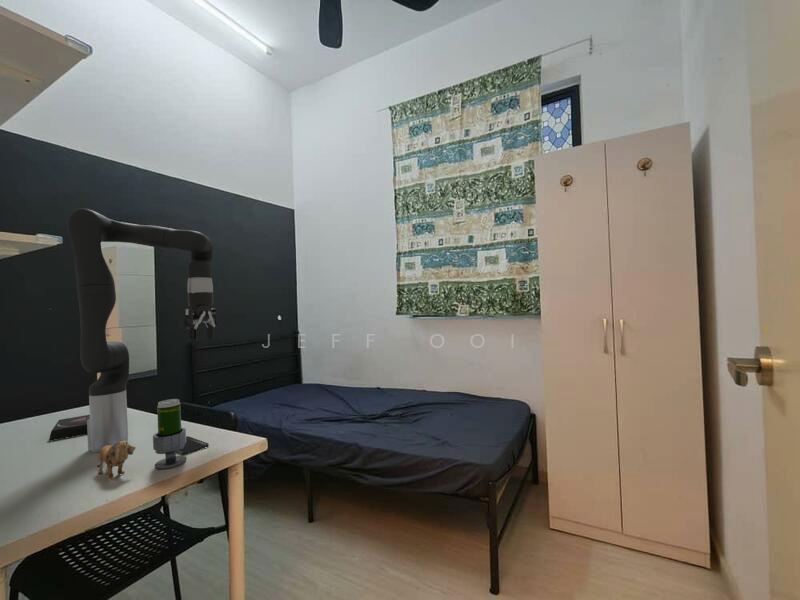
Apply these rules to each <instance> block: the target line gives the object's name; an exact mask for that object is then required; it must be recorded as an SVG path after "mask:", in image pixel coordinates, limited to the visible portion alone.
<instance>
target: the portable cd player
mask: <svg viewBox="0 0 800 600" xmlns="http://www.w3.org/2000/svg"><path fill="white" fill-rule="evenodd" d="M88 419H90V414H85V415H80V416H73V417H68V418H61V419H59V420H58V421H57V422H56V424H55V425H54V426H53V427H52V429H51V431H50V436H49V437H48V438H49V439H48V440H49V441H50V440H54V439H59V440H61V439H60V438H64V439H67V438H66V437H69V438H73V437H72V436H75V437H78V436H77V435H80V436H84V435H83V434H85V435H88V432H87V420H88ZM54 441H55V440H54Z"/></svg>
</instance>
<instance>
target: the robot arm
mask: <svg viewBox="0 0 800 600" xmlns="http://www.w3.org/2000/svg"><path fill="white" fill-rule="evenodd" d="M66 225H67V229H68V234H69V239H70V243H71V247H72V251H73V258H74V268H75V279H76V291H77V300H78V307H79V317H80V318H79V319H80V321H79V322H80V340H79V341H80V346H79V347H80V349H79V356H80V357H79V359H80V363H81V366H82V367H83V369H84V370H85V371H86V372H87V373H89V374H100V375H99V377H98V378H97V380H95V382H93V383H92V384H91V385H90V386H88V399H89V400H88V401H89V405H88V406H89V415H90V419H88V420H87V432H88V434H87V450H88V451H91V452H92V453H100V451H101V449H102V448H103V447H105V446H106V445H111V446H113V445H114V444H116V443H119V442H120V441H127V444H128V443H129V429H128V428H129V426H128V405H127V404H128V402H127V400H128V399H127V384H128V382H129V378H130V354H129V349H128V347H127V346H126V344H124V343H123V342H121V341H117V340H114V341H107V332H106V331H107V324H108V320H109V318H110V316H111V314H112V312H113V310H114V307H115V305H116V301H117V296H116V294H117V293H116V286H115V285H116V283H115V279H114V276H113V274H112V272H111V270H110V267H109V266H108V264H107V262H106V260H105V258H104V254H103V251H102V243H103V242H104V243H128V244H135V245H142V246H146V247H153V248H156V249H157V248H159V249H165V250H179V251H186V252H191V253H190V254H191V256H190V261H189V262H188V264H187V304H188V306H189V307H190V308H186V309H183V327H184V329H185V328H186V329H187V330H189V331H188V333H189V340H190V342H197V341H198V338H199V337H198V329H197V328H199V325H200V324H201V323H204V324H205V326H206V338H207V339H214V338H215V327H216V326H218V325H219V314H218V309H217V308H211V306H213V305H214V303H215V302H214V285H213V278H212V274H213V273H212V260H213V251H214V250H213V249H214V248H213V247H214V246H213V242H212V240H211V239H210V238H209V237H208V236H207V235H205V234H203V233H202V232H199V231H195V230H188V229H174V228H171V227H169V228H168V227H163V226H158V225H149V224H148V225H147V224H129V223H125V222H121V221H117V220H114V219H111V218H108V217H106V216H105V215H104V214H101V213H98V212H97V211H94V210H92V209H89V208H85V207H83V208H76V209H74V210H72V212H71V213H70V214H69V216H68V218H67V224H66Z"/></svg>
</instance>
